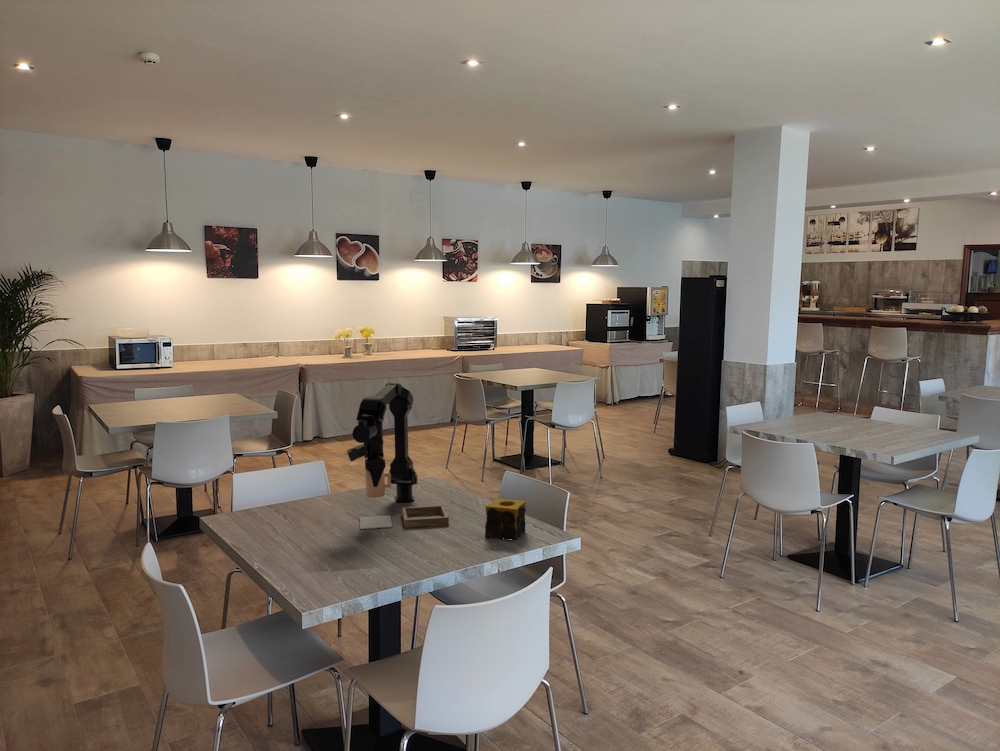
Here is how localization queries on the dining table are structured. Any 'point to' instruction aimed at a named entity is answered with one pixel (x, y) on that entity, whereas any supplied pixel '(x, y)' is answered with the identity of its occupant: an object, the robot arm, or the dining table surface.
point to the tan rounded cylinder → (378, 490)
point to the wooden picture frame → (425, 521)
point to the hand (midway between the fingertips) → (375, 484)
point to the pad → (375, 522)
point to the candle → (505, 519)
